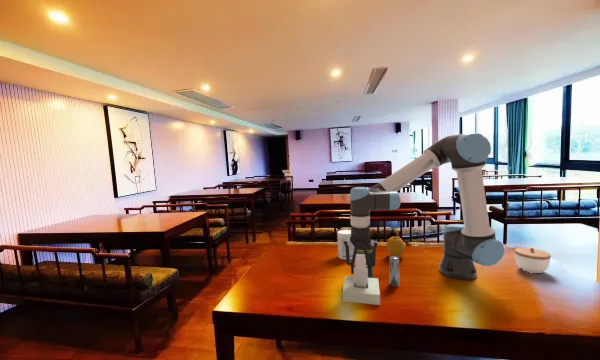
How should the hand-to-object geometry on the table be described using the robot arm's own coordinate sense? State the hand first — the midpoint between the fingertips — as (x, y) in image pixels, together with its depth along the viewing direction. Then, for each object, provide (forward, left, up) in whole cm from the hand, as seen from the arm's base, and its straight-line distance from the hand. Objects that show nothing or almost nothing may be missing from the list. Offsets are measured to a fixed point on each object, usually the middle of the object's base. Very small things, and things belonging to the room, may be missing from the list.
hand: (360, 281), depth 107 cm
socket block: (0, 0, -5) cm, 5 cm away
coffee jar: (-1, -15, -6) cm, 16 cm away
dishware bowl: (-78, -36, -6) cm, 86 cm away
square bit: (0, 0, -3) cm, 3 cm away
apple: (-18, -44, -6) cm, 48 cm away
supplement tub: (+9, -40, -6) cm, 41 cm away
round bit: (-14, -11, -5) cm, 19 cm away
